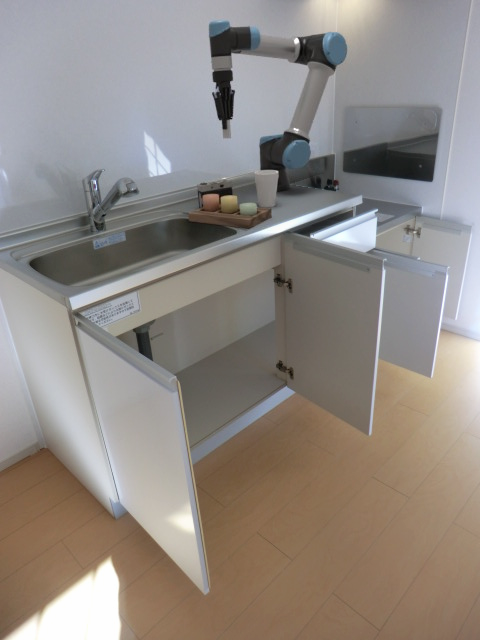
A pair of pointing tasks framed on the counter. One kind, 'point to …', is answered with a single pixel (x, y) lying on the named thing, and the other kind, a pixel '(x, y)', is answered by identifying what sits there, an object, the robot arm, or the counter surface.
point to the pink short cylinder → (211, 202)
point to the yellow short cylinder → (229, 204)
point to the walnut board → (229, 217)
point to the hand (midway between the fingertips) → (227, 138)
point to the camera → (214, 189)
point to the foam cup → (266, 187)
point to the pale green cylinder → (248, 209)
